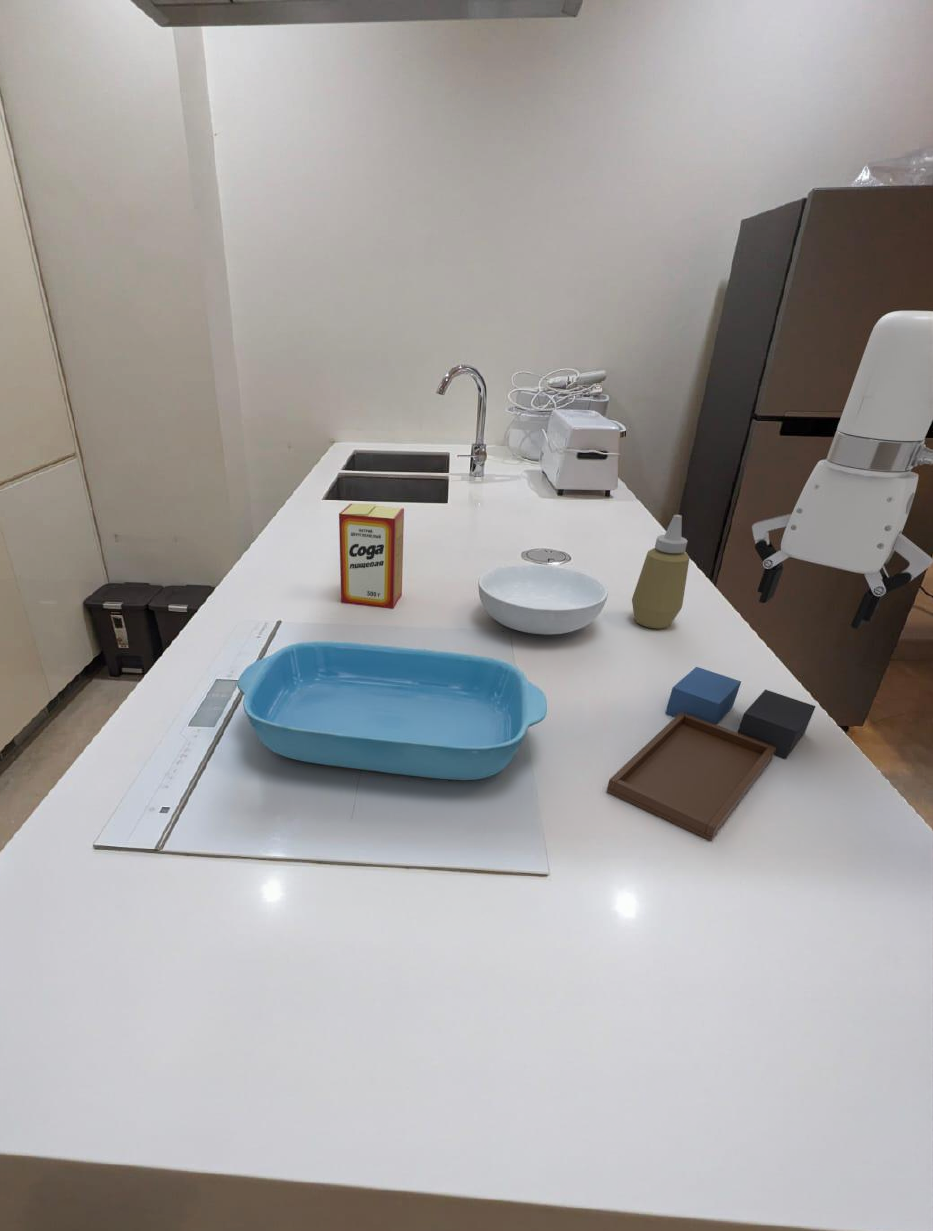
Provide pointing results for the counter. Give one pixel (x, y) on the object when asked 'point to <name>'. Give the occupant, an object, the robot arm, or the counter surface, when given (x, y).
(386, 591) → the baking soda box
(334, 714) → the casserole dish
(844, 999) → the counter surface
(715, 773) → the brown wooden tray
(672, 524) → the squeeze bottle
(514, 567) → the serving bowl
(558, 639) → the counter surface
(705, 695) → the blue rectangular block
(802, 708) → the black block
